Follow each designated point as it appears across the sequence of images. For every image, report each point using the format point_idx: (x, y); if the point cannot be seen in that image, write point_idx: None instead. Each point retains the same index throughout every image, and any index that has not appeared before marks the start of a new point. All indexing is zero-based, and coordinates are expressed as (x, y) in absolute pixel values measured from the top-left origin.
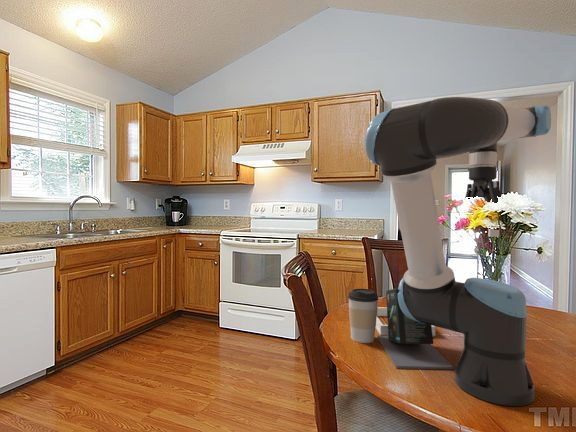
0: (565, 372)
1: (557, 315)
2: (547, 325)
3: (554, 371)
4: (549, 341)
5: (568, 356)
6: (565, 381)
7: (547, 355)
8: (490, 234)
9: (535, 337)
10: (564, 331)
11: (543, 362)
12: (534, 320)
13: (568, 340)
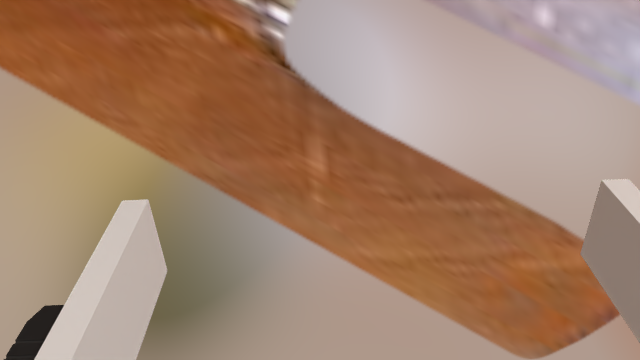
0: (72, 96)
1: (521, 327)
2: (434, 255)
3: (68, 71)
4: (297, 185)
5: (190, 167)
6: (9, 61)
7: (183, 118)
8: (118, 219)
9: (327, 166)
10: (383, 266)
11: (126, 77)
12: (482, 247)
13: (312, 235)
